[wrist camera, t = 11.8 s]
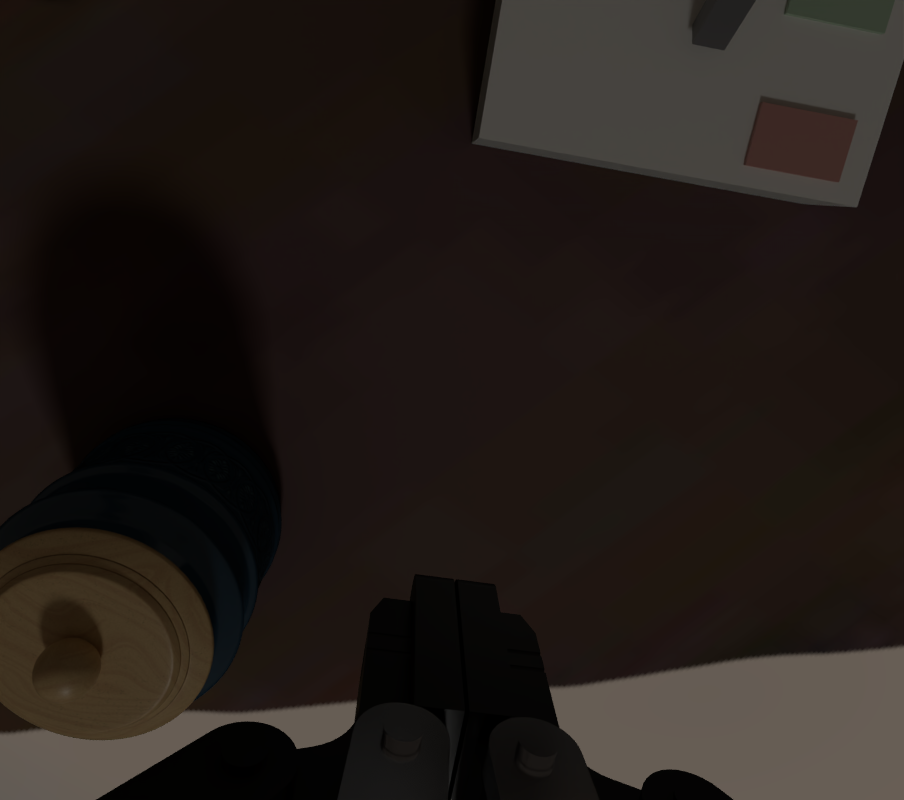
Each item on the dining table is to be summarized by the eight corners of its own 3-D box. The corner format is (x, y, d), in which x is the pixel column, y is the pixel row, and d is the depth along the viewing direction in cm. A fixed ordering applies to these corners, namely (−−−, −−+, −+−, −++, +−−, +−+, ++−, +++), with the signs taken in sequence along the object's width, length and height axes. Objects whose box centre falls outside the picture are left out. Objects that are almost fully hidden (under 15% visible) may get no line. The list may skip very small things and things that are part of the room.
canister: (327, 518, 48) (275, 703, 31) (186, 630, 50) (64, 861, 33) (184, 371, 44) (37, 487, 28) (38, 497, 46) (-180, 677, 30)
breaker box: (471, 143, 41) (479, 137, 36) (511, -97, 38) (527, -144, 32) (803, 204, 43) (860, 207, 37) (870, -21, 40) (943, -53, 34)
